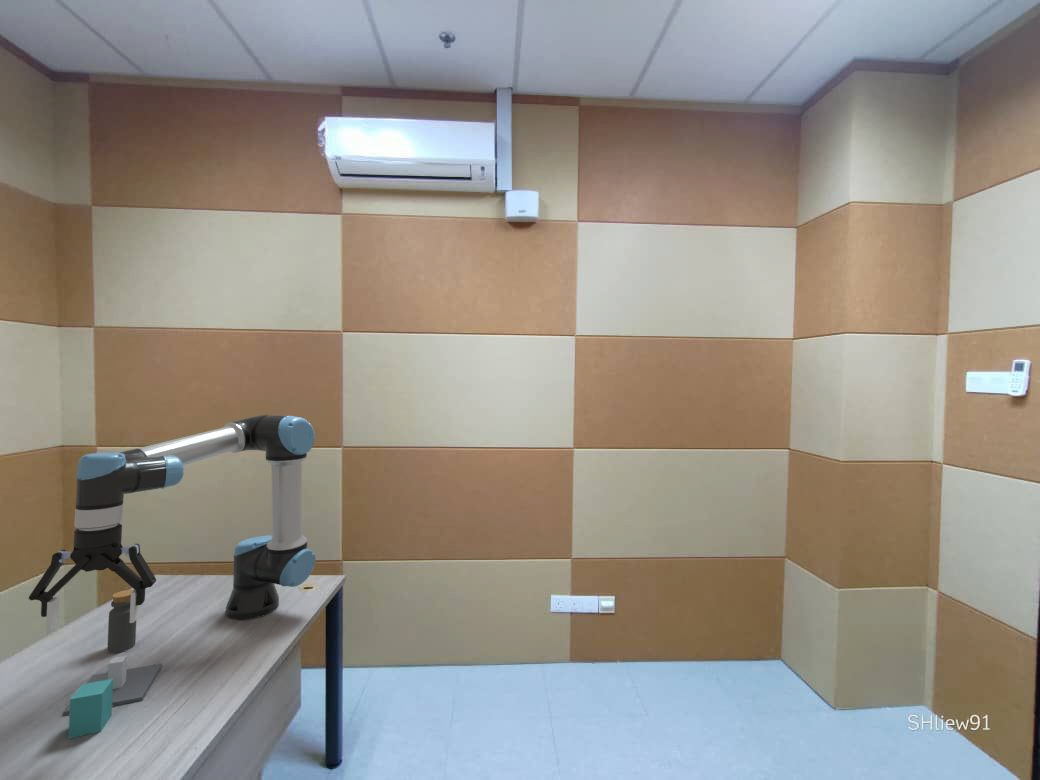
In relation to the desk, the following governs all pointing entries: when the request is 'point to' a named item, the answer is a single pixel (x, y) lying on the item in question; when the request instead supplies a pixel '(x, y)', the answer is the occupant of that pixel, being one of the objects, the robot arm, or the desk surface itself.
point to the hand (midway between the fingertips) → (94, 625)
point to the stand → (126, 681)
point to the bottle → (121, 623)
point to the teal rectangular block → (90, 708)
